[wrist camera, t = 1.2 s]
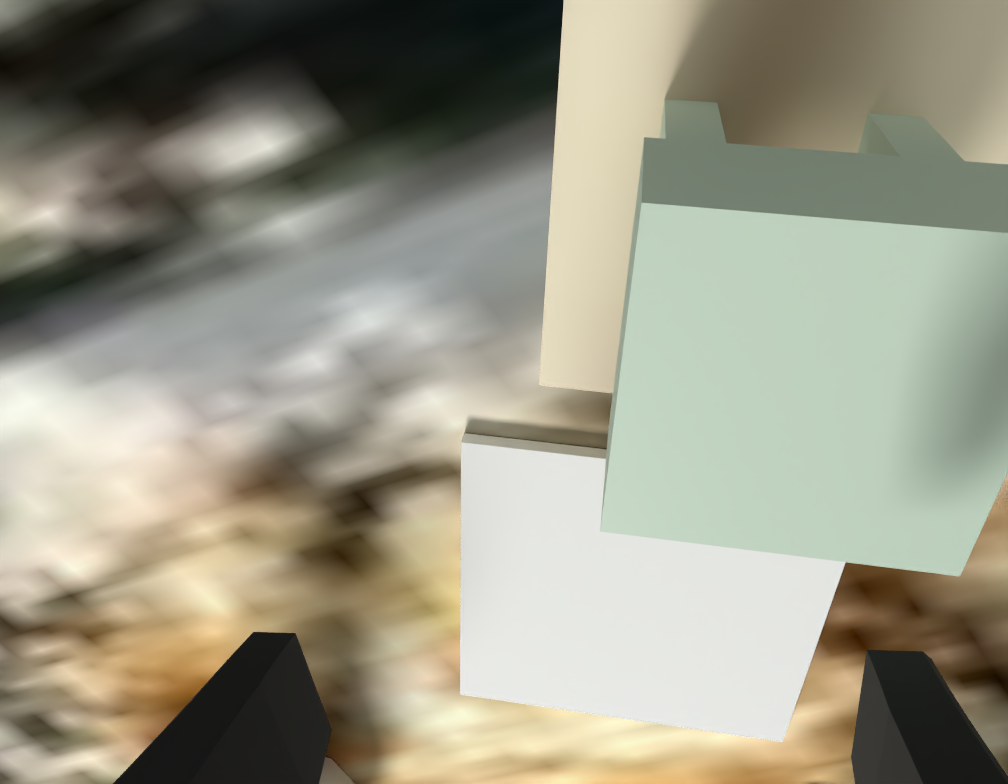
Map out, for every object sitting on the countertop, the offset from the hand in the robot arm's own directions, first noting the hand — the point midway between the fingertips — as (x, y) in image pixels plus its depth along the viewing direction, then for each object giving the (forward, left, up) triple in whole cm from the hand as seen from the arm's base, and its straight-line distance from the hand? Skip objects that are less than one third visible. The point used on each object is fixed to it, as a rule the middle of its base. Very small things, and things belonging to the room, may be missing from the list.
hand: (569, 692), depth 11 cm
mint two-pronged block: (-3, -3, -8) cm, 9 cm away
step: (-3, -3, -10) cm, 11 cm away
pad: (-2, +9, -10) cm, 14 cm away
